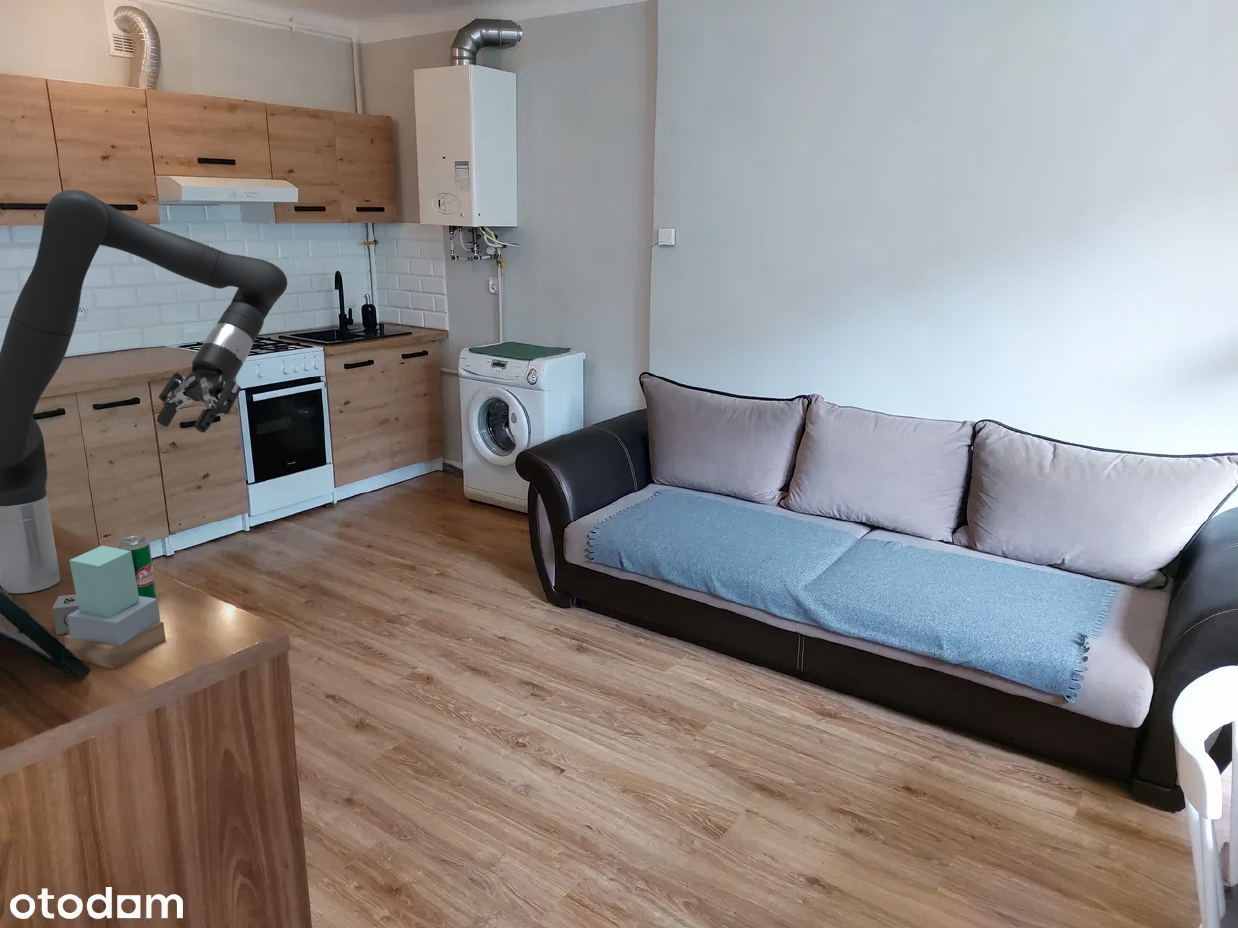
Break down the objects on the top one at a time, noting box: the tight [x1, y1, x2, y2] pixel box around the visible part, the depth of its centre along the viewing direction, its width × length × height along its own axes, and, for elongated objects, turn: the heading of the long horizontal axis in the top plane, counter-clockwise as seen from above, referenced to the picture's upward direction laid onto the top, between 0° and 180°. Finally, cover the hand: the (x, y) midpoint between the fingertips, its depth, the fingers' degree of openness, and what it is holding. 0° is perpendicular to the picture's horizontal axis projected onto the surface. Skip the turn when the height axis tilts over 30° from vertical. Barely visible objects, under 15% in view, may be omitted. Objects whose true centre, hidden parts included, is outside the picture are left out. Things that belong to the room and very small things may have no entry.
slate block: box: [67, 596, 161, 646], centre depth 139 cm, size 9×9×4 cm
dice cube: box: [51, 593, 79, 636], centre depth 147 cm, size 5×5×5 cm
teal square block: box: [69, 545, 140, 618], centre depth 137 cm, size 6×6×9 cm
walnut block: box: [63, 620, 167, 670], centre depth 140 cm, size 10×10×4 cm
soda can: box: [117, 535, 157, 598], centre depth 156 cm, size 5×5×12 cm
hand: (180, 427), depth 151 cm, fingers open, 8 cm apart
